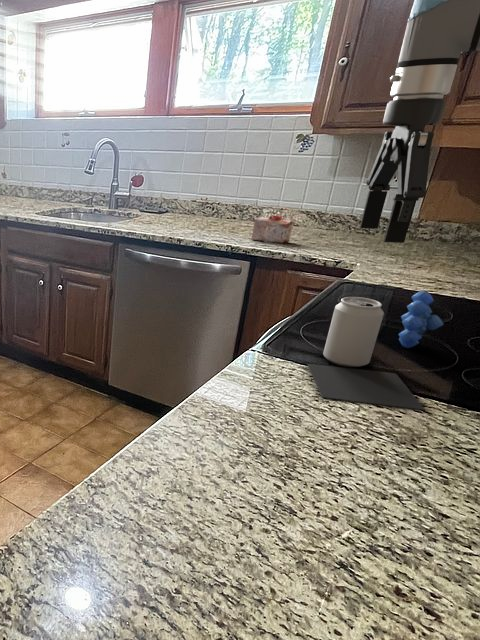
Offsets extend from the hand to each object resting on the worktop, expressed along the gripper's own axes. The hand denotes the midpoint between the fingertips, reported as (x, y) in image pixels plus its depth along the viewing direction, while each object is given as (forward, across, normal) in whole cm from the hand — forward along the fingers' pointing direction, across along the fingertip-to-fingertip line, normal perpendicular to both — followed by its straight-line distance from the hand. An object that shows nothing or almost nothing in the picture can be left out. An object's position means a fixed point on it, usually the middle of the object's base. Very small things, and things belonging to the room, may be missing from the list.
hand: (380, 234), depth 91 cm
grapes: (+24, -9, +14) cm, 29 cm away
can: (+24, +2, -1) cm, 24 cm away
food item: (+24, -119, +2) cm, 121 cm away
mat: (+23, +13, -1) cm, 27 cm away
